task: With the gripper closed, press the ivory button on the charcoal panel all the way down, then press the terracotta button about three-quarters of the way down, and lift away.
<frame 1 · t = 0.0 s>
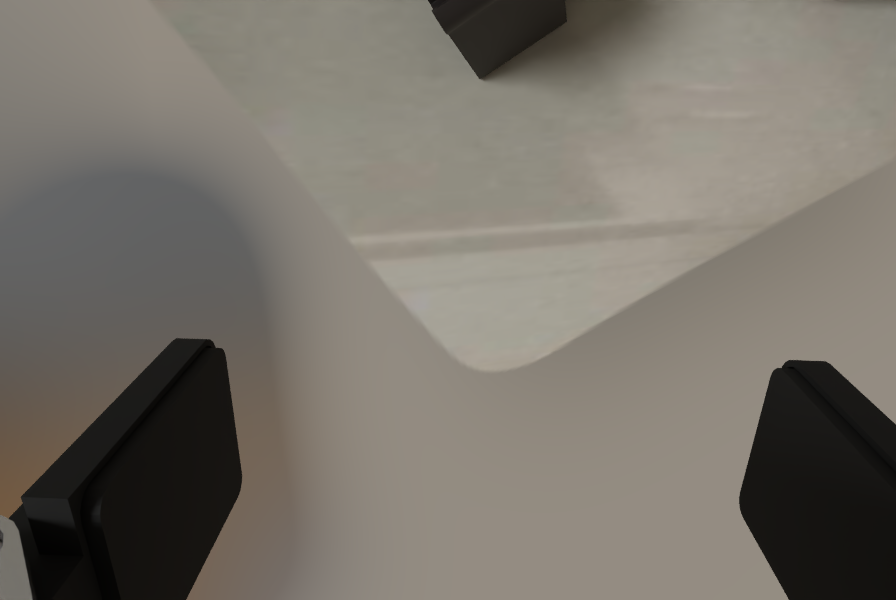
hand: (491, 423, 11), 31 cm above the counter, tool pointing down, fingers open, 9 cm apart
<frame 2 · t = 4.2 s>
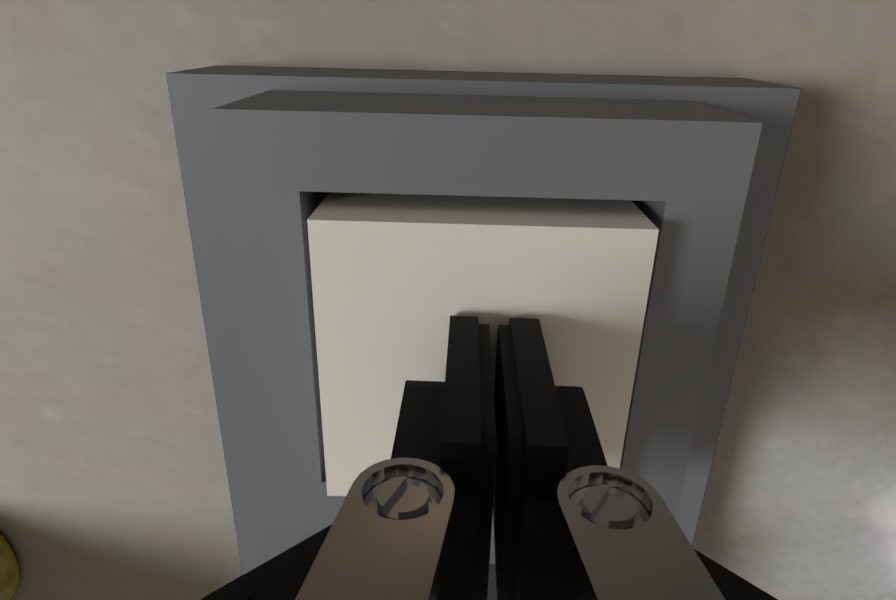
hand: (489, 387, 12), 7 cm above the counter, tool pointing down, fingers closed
ivory button: (474, 340, 13), point 6 cm above the counter, slide at 1.1 cm, touching gripper
button panel: (464, 443, 21), on the counter
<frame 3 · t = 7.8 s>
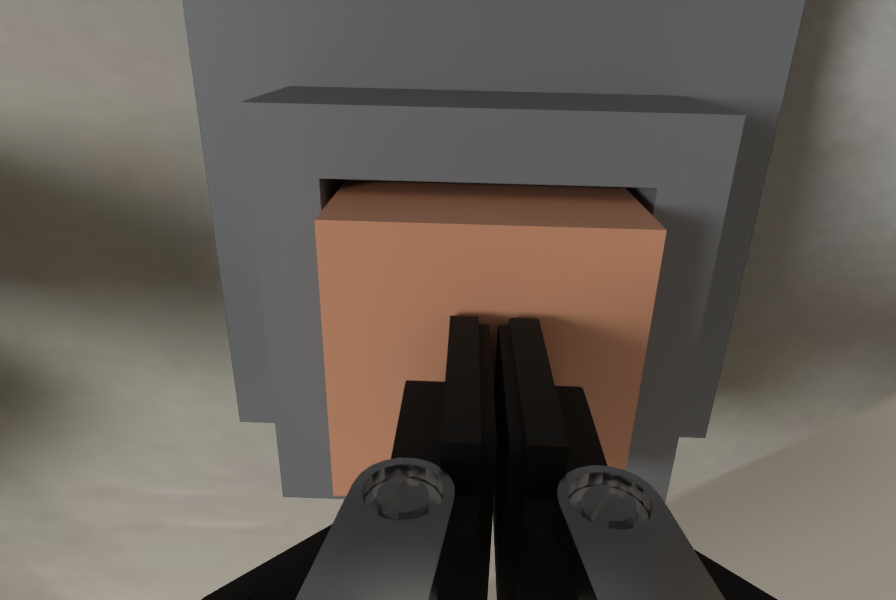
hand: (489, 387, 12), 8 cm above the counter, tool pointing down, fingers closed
terracotta button: (480, 340, 13), point 7 cm above the counter, slide at 0.0 cm, touching gripper
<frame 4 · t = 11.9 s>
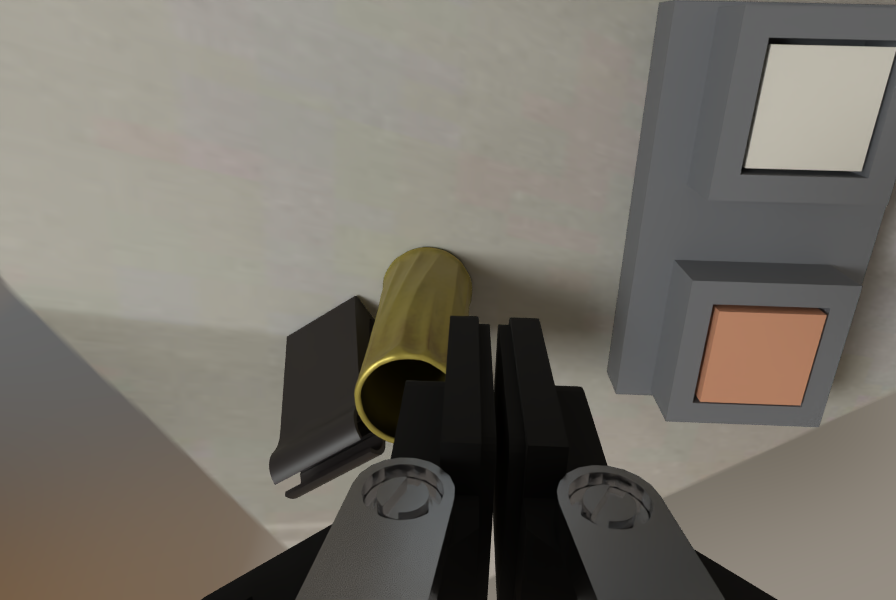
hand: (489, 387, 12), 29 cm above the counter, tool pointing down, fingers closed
phone stand: (359, 360, 45), on the counter
terracotta button: (750, 348, 38), point 5 cm above the counter, slide at 1.5 cm
vase: (427, 287, 43), on the counter
ivory button: (803, 106, 33), point 5 cm above the counter, slide at 2.1 cm
button panel: (739, 212, 40), on the counter
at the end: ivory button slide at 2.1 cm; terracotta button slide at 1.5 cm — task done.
